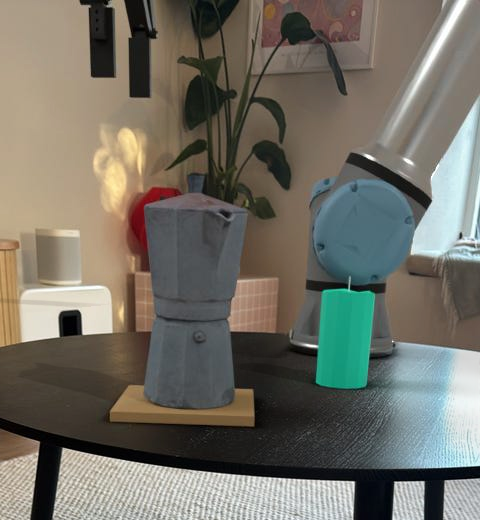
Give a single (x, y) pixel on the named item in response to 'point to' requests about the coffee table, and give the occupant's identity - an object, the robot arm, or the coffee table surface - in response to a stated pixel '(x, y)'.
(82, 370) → the coffee table surface
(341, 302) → the candle
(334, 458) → the coffee table surface
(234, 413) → the cork trivet
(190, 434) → the coffee table surface
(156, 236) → the moka pot
